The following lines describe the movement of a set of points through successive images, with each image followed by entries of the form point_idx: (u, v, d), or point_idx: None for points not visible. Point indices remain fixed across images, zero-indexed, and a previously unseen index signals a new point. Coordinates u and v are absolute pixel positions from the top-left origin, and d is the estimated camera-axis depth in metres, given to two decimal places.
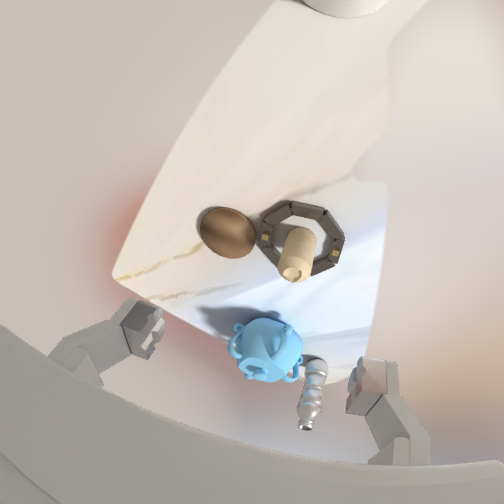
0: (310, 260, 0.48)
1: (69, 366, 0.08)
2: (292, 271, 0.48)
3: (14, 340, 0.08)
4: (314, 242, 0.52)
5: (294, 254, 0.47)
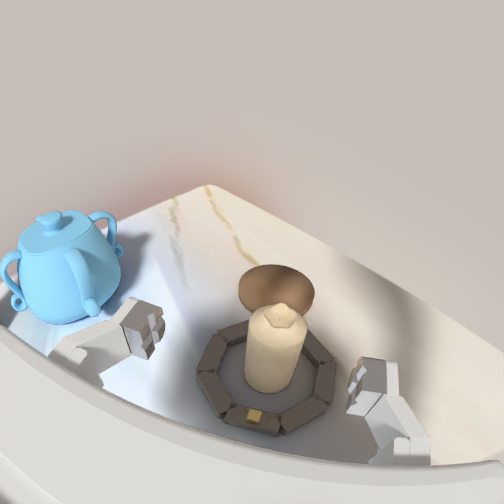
0: (288, 354, 0.26)
1: (69, 366, 0.08)
2: (280, 319, 0.27)
3: (14, 340, 0.08)
4: (277, 384, 0.29)
5: None
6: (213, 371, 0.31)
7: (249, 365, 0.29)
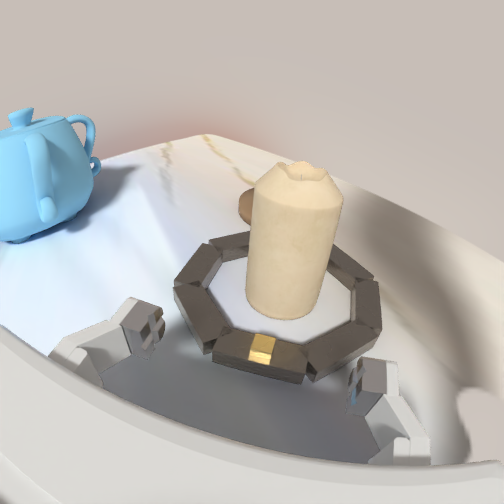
0: (318, 227, 0.17)
1: (69, 366, 0.08)
2: (302, 179, 0.18)
3: (14, 340, 0.08)
4: (299, 300, 0.20)
5: None
6: (198, 284, 0.21)
7: (254, 265, 0.20)
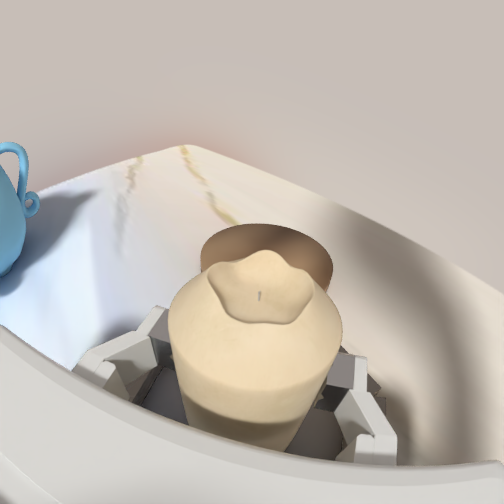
0: (286, 405, 0.08)
1: (97, 381, 0.08)
2: (263, 296, 0.09)
3: (14, 340, 0.08)
4: None
5: None
6: None
7: (188, 416, 0.11)
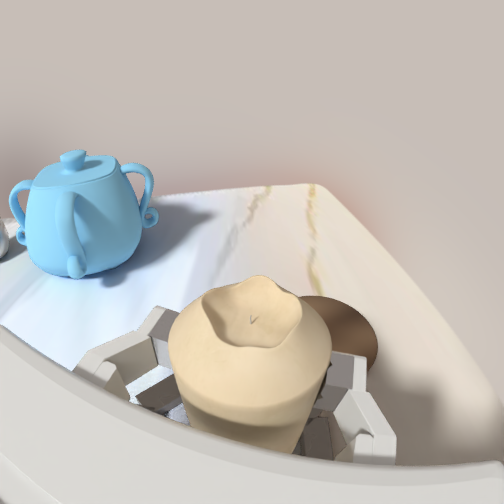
0: (275, 421, 0.08)
1: (97, 382, 0.08)
2: (255, 319, 0.10)
3: (14, 340, 0.08)
4: None
5: None
6: None
7: None
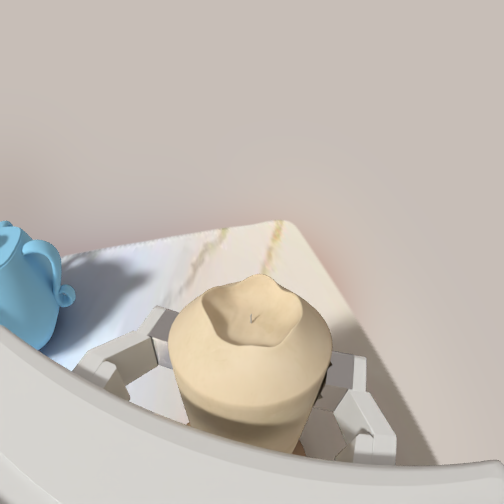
0: (275, 420, 0.08)
1: (97, 382, 0.08)
2: (255, 318, 0.10)
3: (14, 340, 0.08)
4: None
5: None
6: None
7: (191, 426, 0.11)
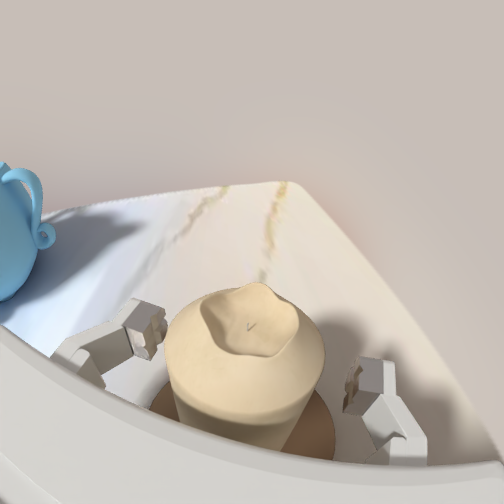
0: (268, 426, 0.08)
1: (71, 367, 0.08)
2: (251, 327, 0.10)
3: (14, 340, 0.08)
4: None
5: None
6: None
7: None
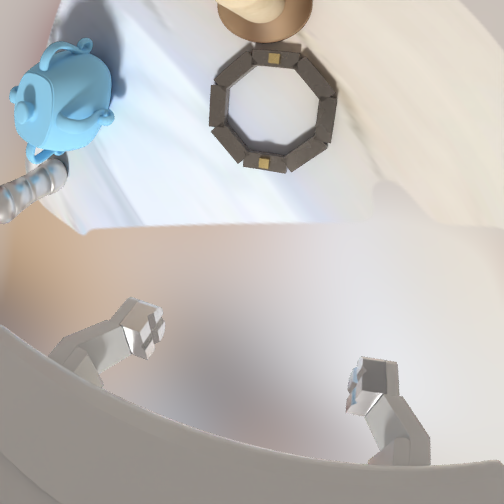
0: None
1: (69, 366, 0.08)
2: None
3: (14, 340, 0.08)
4: (277, 11, 0.24)
5: None
6: (223, 125, 0.35)
7: (243, 17, 0.24)
